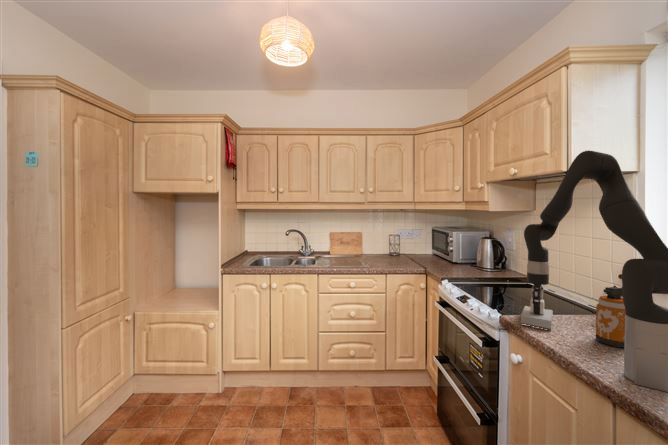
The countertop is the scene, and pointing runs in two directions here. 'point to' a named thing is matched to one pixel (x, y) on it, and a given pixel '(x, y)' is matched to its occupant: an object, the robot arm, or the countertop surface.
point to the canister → (611, 317)
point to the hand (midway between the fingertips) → (537, 312)
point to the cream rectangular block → (540, 306)
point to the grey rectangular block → (537, 318)
